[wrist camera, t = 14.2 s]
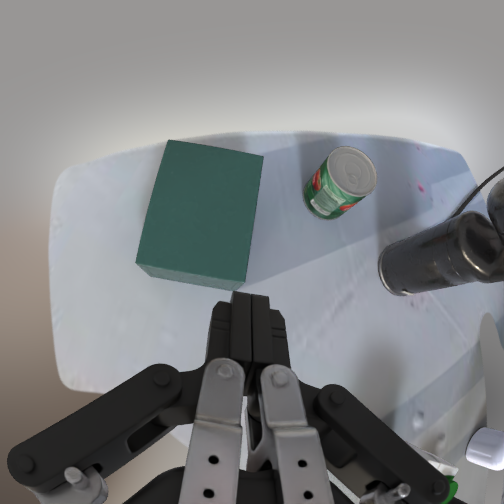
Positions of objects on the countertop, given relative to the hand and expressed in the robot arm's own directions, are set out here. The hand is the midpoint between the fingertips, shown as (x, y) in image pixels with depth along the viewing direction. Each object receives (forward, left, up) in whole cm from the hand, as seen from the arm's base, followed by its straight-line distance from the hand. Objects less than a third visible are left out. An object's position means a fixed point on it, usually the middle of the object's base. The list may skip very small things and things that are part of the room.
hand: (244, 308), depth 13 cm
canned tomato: (-25, -9, -32) cm, 41 cm away
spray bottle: (-37, +58, -32) cm, 76 cm away
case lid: (-4, -12, -22) cm, 25 cm away
